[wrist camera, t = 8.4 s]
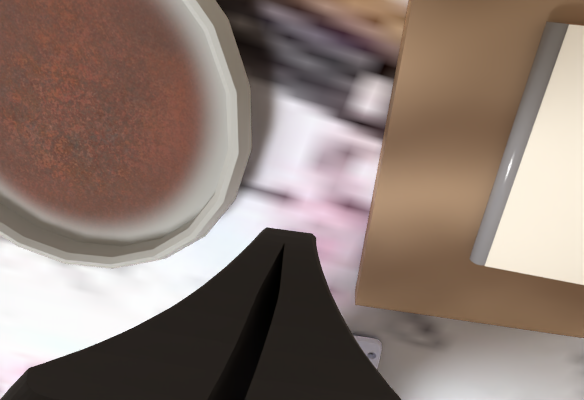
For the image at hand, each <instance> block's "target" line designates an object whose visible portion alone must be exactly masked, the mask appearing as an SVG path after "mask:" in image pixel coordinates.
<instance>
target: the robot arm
mask: <svg viewBox="0 0 584 400" xmlns="http://www.w3.org/2000/svg"><path fill="white" fill-rule="evenodd" d="M371 352H372V353H374V354H369V353H371ZM381 352H382V344H381V342H380V341H379V340H378V339H375V338H368V337H362V336H355V335H352V333H351V331H350V330H349V328H348V326H347V324H346V323H345V321H344V319H343V317H342V315H341V313H340V311H339V309H338V307H337V305H336V303H335V301H334V299H333V297H332V294H331V292H330V290H329V287H328V285H327V282H326V279H325V276H324V274H323V271H322V268H321V264H320V261H319V257H318V252H317V247H316V237H315V236H314V235H313V234H311V233H303V232H296V231H288V230H281V229H273V228H265V229H264V230H263V231H262V232H261V233H260V234H259V235H258V236H257V237H256V238H255V239H254V240H253V241H252V242H251V243H250V244H249V245H248V246H247V247H246V248H245V249H244V250H243V251H242V252H241V253H240V254H239V255H238V256H237V257H236V258H235V259H234V260H233V261H232V262H231V263H230V264H228V265H227V266H226V267H225V268H224V269H223V270H222V271H220V272H219V273H218V274H217V275H215V276H214V277H213V278H212V279H210V280H209V281H208V282H207V283H205V284H204V285H203V286H202V287H200V288H199V289H198V290H196V291H195V292H193V293H192V294H191V295H189V296H188V297H186V298H185V299H183V300H182V301H180V302H179V303H177V304H175V305H174V306H172V307H171V308H169V309H167V310H165V311H164V312H162V313H160V314H158V315H156V316H154V317H152V318H151V319H149V320H147V321H145V322H143V323H141V324H140V325H138V326H136V327H134V328H131V329H129V330H127V331H125V332H123V333H121V334H119V335H116V336H114V337H112V338H109V339H107V340H105V341H102V342H100V343H98V344H95V345H93V346H90V347H88V348H85V349H83V350H80V351H77V352H74V353H71V354H69V355H66V356H63V357H60V358H57V359H54V360H52V361H49V362H46V363H43V364H40V365H37V366H34V367H31V368H29V369H28V370H27V371H26V372H25V373H24V374H23V375H22V376H21V377H20V378H19V379H18V380H17V381H16V382H15V383H14V384H13V385H12V386H11V388H10V389H9V390H8V391H7V392H6V393H5V395H4V396H3V397H2V398H1V399H0V400H401V399H400V397H399V396H398V395H397V394H396V393H395V392H394V391H393V389H392V388H391V387H390V386H389V385H388V384H387V382H386V381H385V380H384V378H383V377H382V376H381V374H380V373H379V372H378V370H377V368H378V364H379V360H380V356H381Z"/></svg>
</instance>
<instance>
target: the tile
mask: <svg viewBox="0 0 584 400" xmlns="http://www.w3.org/2000/svg"><path fill="white" fill-rule="evenodd" d="M470 260H471V261H472V262H473V263H475V264H477V265H485V266H487V267H492V268H497V269H503V270H508V271H513V272H518V273H523V274H529V275H534V276H539V277H544V278H550V279H555V280H560V281H565V282H570V283H576V284H581V285H584V25H582V24H571V23H560V22H549V21H546V24H545V27H544V31H543V34H542V37H541V40H540V43H539V46H538V49H537V52H536V55H535V58H534V61H533V64H532V67H531V70H530V73H529V77H528V80H527V83H526V86H525V89H524V92H523V95H522V98H521V101H520V104H519V107H518V110H517V113H516V116H515V119H514V123H513V126H512V129H511V132H510V135H509V138H508V141H507V144H506V147H505V150H504V153H503V156H502V159H501V162H500V165H499V168H498V172H497V175H496V178H495V181H494V184H493V187H492V190H491V193H490V196H489V199H488V202H487V205H486V208H485V211H484V214H483V218H482V221H481V224H480V227H479V230H478V233H477V236H476V239H475V242H474V245H473V248H472V251H471V254H470Z"/></svg>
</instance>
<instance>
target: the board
mask: <svg viewBox="0 0 584 400" xmlns="http://www.w3.org/2000/svg"><path fill="white" fill-rule="evenodd" d="M546 21H549V22H560V23H571V24H582V25H584V0H409V1H408V7H407V12H406V18H405V23H404V29H403V34H402V39H401V45H400V50H399V56H398V61H397V66H396V72H395V77H394V83H393V88H392V94H391V99H390V104H389V110H388V115H387V121H386V126H385V131H384V137H383V142H382V148H381V153H380V159H379V164H378V169H377V175H376V180H375V186H374V191H373V196H372V202H371V207H370V213H369V218H368V224H367V229H366V234H365V240H364V245H363V251H362V256H361V261H360V267H359V272H358V278H357V283H356V289H355V305H361V306H367V307H374V308H381V309H388V310H395V311H402V312H408V313H415V314H422V315H429V316H436V317H443V318H450V319H456V320H463V321H470V322H477V323H484V324H491V325H497V326H504V327H511V328H518V329H525V330H532V331H539V332H545V333H552V334H559V335H566V336H573V337H580V338H584V285H581V284H576V283H570V282H565V281H560V280H555V279H550V278H544V277H539V276H534V275H529V274H523V273H518V272H513V271H508V270H503V269H497V268H492V267H487V266H485V265H477V264H475V263H473V262H472V261H471V260H470V254H471V251H472V248H473V245H474V242H475V239H476V236H477V233H478V230H479V227H480V224H481V221H482V218H483V214H484V211H485V208H486V205H487V202H488V199H489V196H490V193H491V190H492V187H493V184H494V181H495V178H496V175H497V172H498V168H499V165H500V162H501V159H502V156H503V153H504V150H505V147H506V144H507V141H508V138H509V135H510V132H511V129H512V126H513V123H514V119H515V116H516V113H517V110H518V107H519V104H520V101H521V98H522V95H523V92H524V89H525V86H526V83H527V80H528V77H529V73H530V70H531V67H532V64H533V61H534V58H535V55H536V52H537V49H538V46H539V43H540V40H541V37H542V34H543V31H544V27H545V24H546Z"/></svg>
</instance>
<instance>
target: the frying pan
mask: <svg viewBox="0 0 584 400" xmlns="http://www.w3.org/2000/svg"><path fill="white" fill-rule="evenodd" d="M251 150H252V132H251V87H250V84H249V81H248V78H247V75H246V71H245V68H244V65H243V62H242V59H241V56H240V53H239V50H238V47H237V44H236V41H235V38H234V35H233V32H232V29H231V26H230V23H229V20H228V18H227V16H226V15H225V14H224V12H223V11H222V9H221V8H220V6H219V5H218V3H217V2H216V0H0V235H1V236H2V237H4V238H5V239H7V240H9V241H10V242H12V243H13V244H15V245H17V246H18V247H21V248H24V249H26V250H29V251H32V252H35V253H37V254H40V255H43V256H46V257H48V258H51V259H54V260H57V261H59V262H62V263H65V264H73V265H82V266H92V267H101V268H111V269H114V268H119V267H124V266H130V265H135V264H141V263H146V262H151V261H157V260H161V259H165V258H168V257H169V256H171V255H173V254H175V253H176V252H178V251H180V250H182V249H183V248H185V247H187V246H189V245H190V244H192V243H194V242H196V241H197V240H199V239H201V238H203V237H205V236H206V235H207V233H208V232H209V231H210V230H211V229H212V227H213V226H214V225H215V224H216V222H217V221H218V220H219V219H220V218H221V216H222V215H223V214H224V213H225V211H226V210H227V209H228V208H229V207H230V205H231V204H232V203H233V202H234V200H235V199H236V196H237V193H238V190H239V187H240V184H241V181H242V177H243V174H244V171H245V168H246V165H247V162H248V159H249V156H250V153H251Z"/></svg>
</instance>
